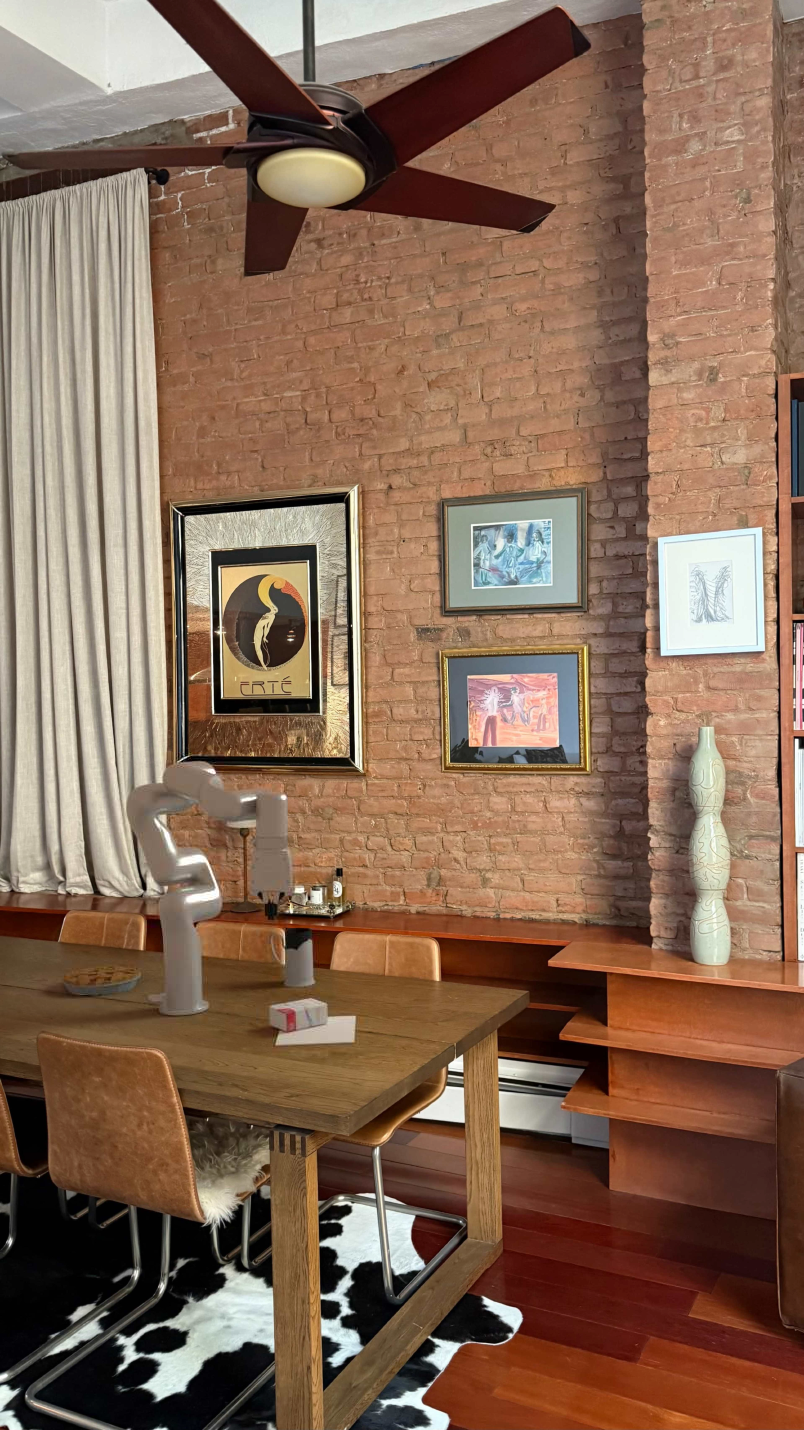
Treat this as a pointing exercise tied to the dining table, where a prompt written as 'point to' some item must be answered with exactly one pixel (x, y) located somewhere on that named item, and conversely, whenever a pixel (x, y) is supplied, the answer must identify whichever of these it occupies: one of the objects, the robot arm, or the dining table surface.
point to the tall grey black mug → (297, 957)
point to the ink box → (298, 1014)
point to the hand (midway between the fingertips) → (271, 919)
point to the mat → (321, 1033)
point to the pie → (102, 980)
